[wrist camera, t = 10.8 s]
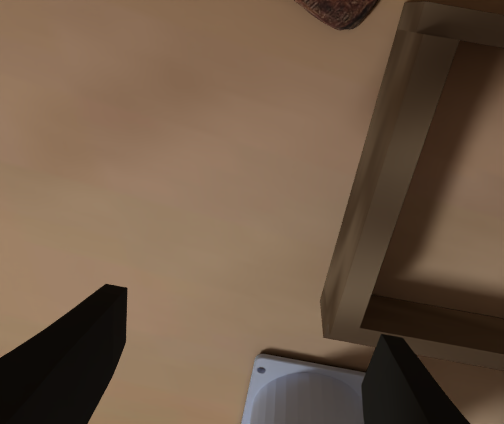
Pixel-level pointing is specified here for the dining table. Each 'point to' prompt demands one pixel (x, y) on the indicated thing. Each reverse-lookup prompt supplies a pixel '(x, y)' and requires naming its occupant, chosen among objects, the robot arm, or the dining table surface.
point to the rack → (394, 191)
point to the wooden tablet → (339, 11)
